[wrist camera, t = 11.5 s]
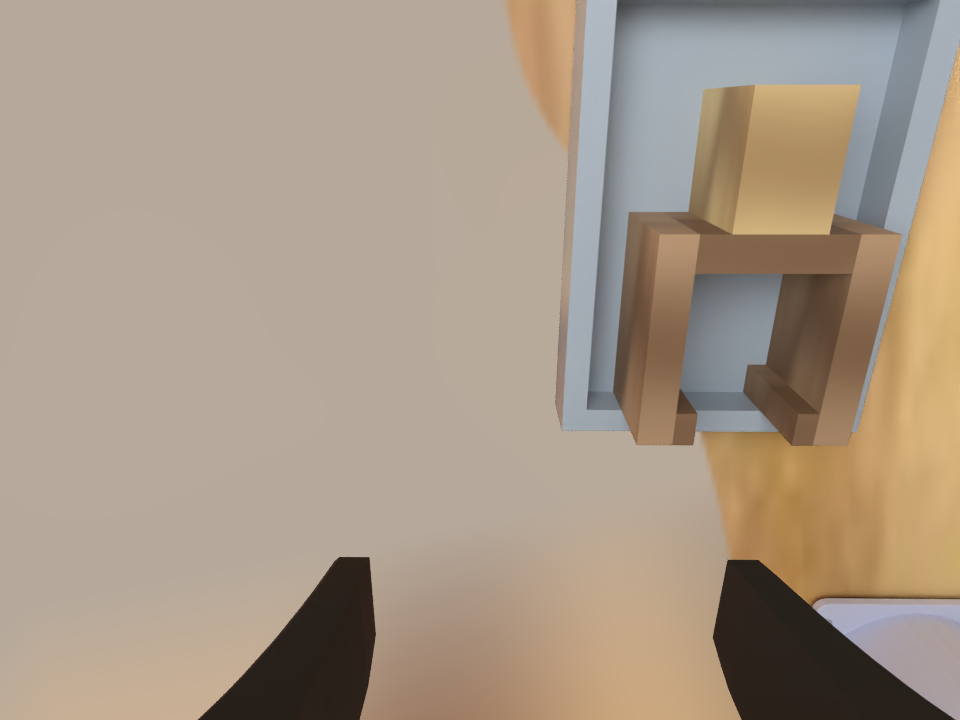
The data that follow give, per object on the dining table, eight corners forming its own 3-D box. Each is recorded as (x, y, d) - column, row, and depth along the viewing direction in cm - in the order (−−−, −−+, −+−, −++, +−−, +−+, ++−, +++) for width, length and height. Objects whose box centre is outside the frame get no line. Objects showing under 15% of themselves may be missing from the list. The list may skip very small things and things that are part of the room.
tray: (825, 404, 22) (856, 432, 20) (555, 403, 22) (561, 430, 20) (926, -24, 17) (981, -40, 15) (577, -24, 17) (589, -41, 15)
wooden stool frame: (790, 391, 21) (847, 445, 18) (613, 391, 21) (636, 445, 18) (853, 88, 17) (940, 84, 14) (639, 89, 17) (676, 84, 14)
